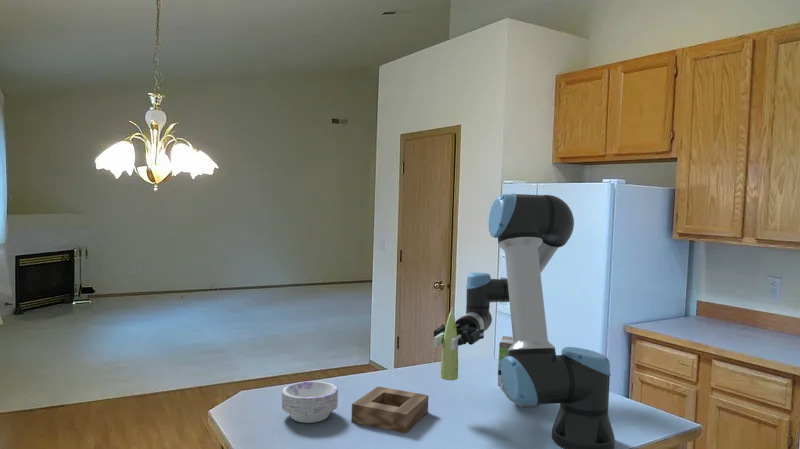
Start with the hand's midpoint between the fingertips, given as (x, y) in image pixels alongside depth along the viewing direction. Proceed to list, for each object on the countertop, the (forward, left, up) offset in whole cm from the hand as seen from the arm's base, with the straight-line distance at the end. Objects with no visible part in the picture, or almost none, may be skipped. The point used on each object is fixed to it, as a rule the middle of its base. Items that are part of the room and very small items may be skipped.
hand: (443, 343), depth 149 cm
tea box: (-13, -43, -22) cm, 50 cm away
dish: (-18, -23, -22) cm, 37 cm away
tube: (0, -5, -11) cm, 12 cm away
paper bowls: (+34, +13, -22) cm, 42 cm away
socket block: (+14, +3, -22) cm, 26 cm away
